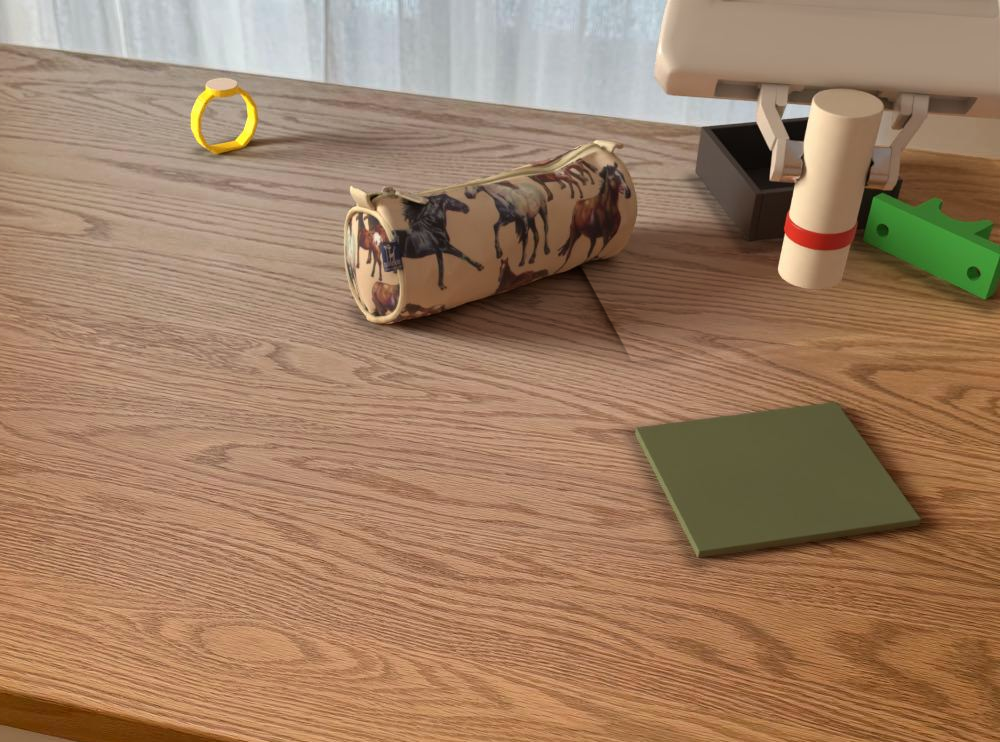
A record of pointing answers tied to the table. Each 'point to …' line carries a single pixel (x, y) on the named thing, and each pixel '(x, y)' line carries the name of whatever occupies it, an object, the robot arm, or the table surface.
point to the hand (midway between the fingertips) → (832, 182)
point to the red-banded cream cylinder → (829, 187)
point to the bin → (756, 178)
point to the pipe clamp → (936, 242)
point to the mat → (773, 479)
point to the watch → (222, 89)
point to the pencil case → (486, 233)
